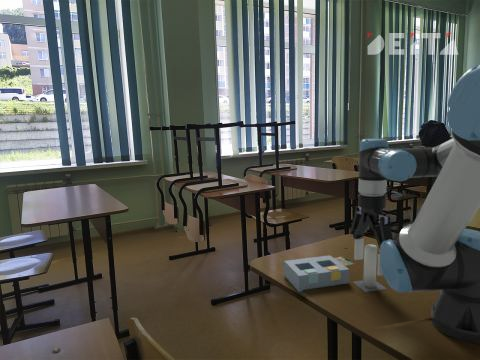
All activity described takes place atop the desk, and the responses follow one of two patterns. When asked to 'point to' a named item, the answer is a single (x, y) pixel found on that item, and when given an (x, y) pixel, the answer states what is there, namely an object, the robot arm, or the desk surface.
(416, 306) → the desk surface
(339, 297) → the desk surface
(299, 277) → the socket block
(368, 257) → the plug
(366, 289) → the mat
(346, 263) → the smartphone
